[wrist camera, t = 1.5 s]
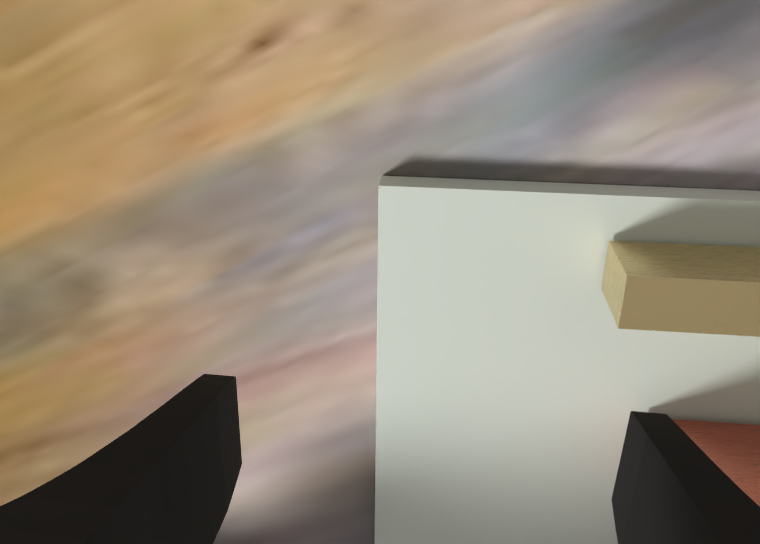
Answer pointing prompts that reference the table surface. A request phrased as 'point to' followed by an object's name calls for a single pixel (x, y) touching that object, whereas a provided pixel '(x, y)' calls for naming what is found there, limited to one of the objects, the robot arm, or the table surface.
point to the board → (532, 353)
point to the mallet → (730, 450)
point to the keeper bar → (683, 287)
